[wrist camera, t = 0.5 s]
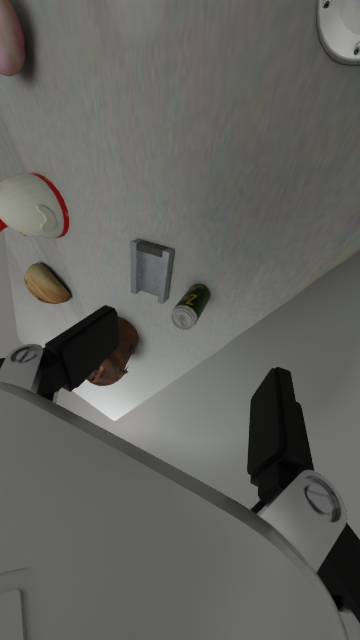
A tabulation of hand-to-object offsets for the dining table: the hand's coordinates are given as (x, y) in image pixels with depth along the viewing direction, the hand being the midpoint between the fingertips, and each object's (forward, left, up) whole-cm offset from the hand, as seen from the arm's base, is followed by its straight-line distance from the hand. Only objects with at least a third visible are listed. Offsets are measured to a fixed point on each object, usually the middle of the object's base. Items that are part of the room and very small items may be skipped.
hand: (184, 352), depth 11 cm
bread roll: (+27, -55, -32) cm, 69 cm away
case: (+38, -28, -32) cm, 57 cm away
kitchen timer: (+4, -50, -32) cm, 59 cm away
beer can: (+13, -5, -32) cm, 35 cm away
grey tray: (+11, -18, -32) cm, 38 cm away
